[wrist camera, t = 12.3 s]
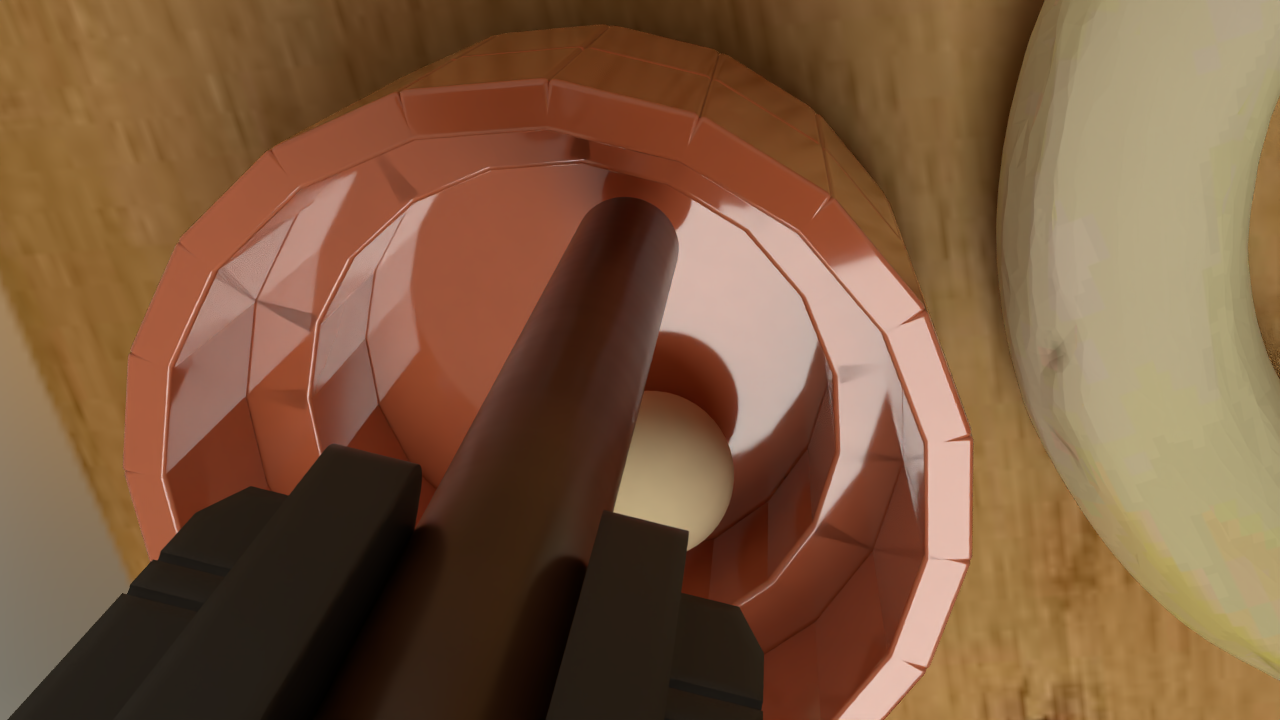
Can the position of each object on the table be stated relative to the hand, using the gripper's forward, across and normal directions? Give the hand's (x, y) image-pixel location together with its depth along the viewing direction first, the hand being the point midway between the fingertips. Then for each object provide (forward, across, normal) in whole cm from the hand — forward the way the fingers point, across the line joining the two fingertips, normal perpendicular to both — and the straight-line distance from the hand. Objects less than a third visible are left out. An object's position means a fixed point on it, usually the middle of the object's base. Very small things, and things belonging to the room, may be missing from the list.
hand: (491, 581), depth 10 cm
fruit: (+11, -11, -1) cm, 16 cm away
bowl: (+11, 0, +2) cm, 11 cm away
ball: (+9, -1, +4) cm, 10 cm away
